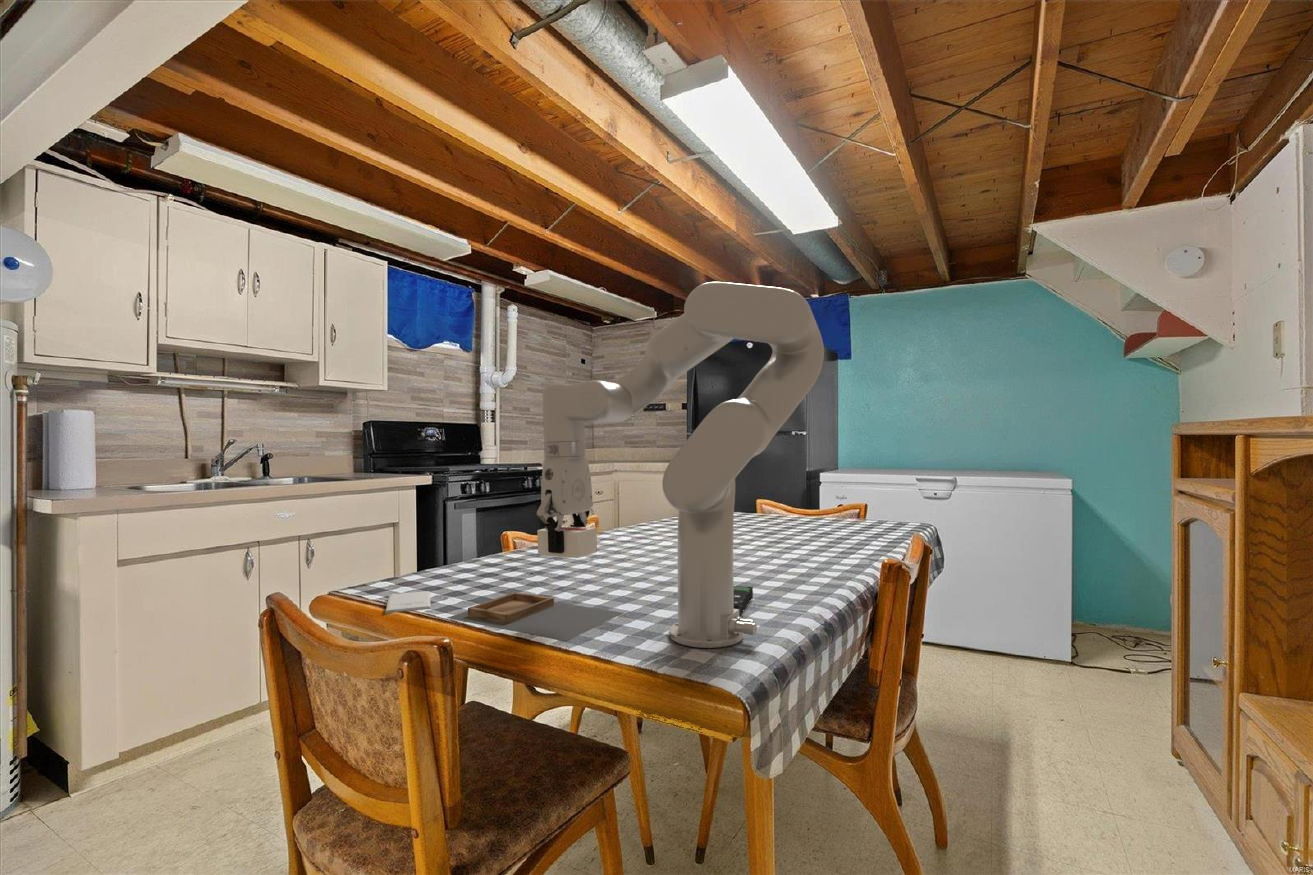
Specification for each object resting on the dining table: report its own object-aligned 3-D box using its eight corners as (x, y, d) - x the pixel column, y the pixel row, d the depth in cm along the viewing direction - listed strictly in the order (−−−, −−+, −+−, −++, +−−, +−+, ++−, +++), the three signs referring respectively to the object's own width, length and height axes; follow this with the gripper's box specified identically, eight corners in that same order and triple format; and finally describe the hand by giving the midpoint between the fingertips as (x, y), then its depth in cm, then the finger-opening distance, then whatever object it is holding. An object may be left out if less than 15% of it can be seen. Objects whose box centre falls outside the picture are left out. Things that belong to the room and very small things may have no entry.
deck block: (597, 552, 112) (596, 526, 112) (577, 558, 107) (577, 531, 107) (558, 549, 117) (557, 524, 117) (538, 554, 111) (537, 529, 111)
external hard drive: (430, 598, 132) (430, 613, 121) (389, 602, 129) (385, 618, 118) (430, 590, 132) (430, 605, 121) (388, 594, 129) (385, 609, 118)
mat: (623, 615, 116) (623, 612, 116) (566, 643, 101) (566, 640, 101) (512, 597, 130) (512, 595, 130) (446, 620, 114) (446, 617, 114)
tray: (553, 606, 122) (553, 598, 122) (508, 624, 110) (508, 615, 110) (515, 599, 126) (515, 592, 126) (467, 616, 115) (467, 608, 115)
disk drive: (741, 620, 115) (753, 598, 129) (741, 605, 115) (753, 585, 129) (688, 615, 118) (705, 595, 132) (688, 601, 118) (705, 582, 132)
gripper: (551, 452, 102) (554, 559, 102) (607, 449, 118) (610, 542, 118) (517, 453, 106) (520, 556, 106) (576, 450, 121) (578, 540, 121)
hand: (567, 548), depth 112 cm, fingers closed on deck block, 6 cm apart
